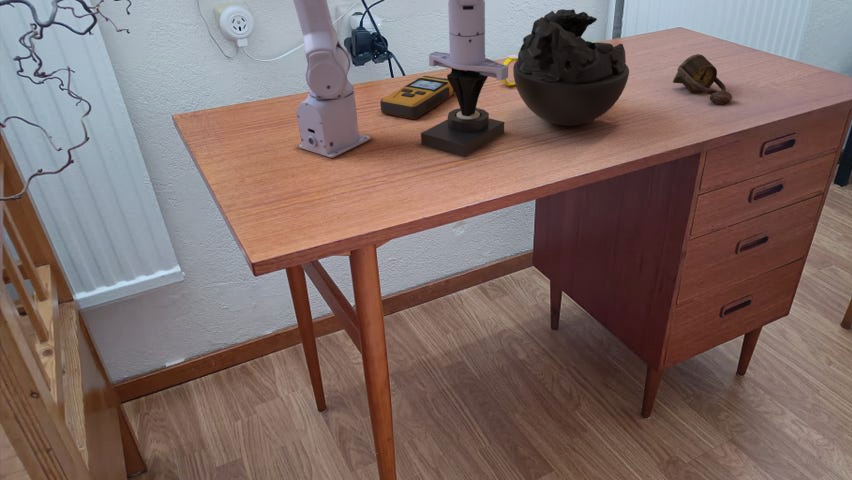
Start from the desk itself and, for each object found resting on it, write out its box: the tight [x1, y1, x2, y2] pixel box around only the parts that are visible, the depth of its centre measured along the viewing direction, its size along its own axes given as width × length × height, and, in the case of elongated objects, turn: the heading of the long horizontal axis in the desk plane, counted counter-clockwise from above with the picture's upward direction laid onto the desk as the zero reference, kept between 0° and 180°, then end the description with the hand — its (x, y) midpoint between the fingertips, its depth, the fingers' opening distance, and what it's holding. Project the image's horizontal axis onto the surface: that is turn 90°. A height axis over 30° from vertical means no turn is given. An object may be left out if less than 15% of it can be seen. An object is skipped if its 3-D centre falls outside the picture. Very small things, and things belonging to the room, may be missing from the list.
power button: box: [457, 111, 480, 120], centre depth 112 cm, size 4×4×2 cm
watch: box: [501, 54, 518, 87], centre depth 135 cm, size 6×3×6 cm, turn 128°
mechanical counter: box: [672, 53, 733, 105], centre depth 130 cm, size 7×13×10 cm
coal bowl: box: [512, 8, 630, 127], centre depth 114 cm, size 20×20×19 cm
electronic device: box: [379, 75, 455, 120], centre depth 126 cm, size 8×16×3 cm, turn 154°
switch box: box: [420, 107, 505, 158], centre depth 112 cm, size 12×9×4 cm
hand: (468, 114), depth 112 cm, fingers closed, pressing on power button
